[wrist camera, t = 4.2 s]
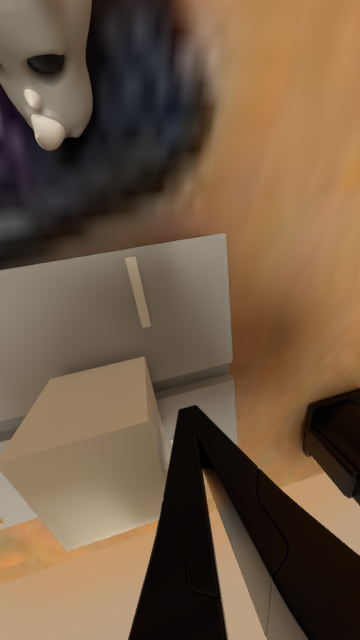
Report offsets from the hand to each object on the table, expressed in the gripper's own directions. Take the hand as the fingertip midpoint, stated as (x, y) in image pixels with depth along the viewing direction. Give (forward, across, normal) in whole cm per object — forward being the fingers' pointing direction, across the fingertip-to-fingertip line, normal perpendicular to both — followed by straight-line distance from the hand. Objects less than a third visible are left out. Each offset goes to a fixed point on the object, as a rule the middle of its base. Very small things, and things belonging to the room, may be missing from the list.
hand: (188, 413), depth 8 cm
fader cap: (+2, +3, 0) cm, 4 cm away
